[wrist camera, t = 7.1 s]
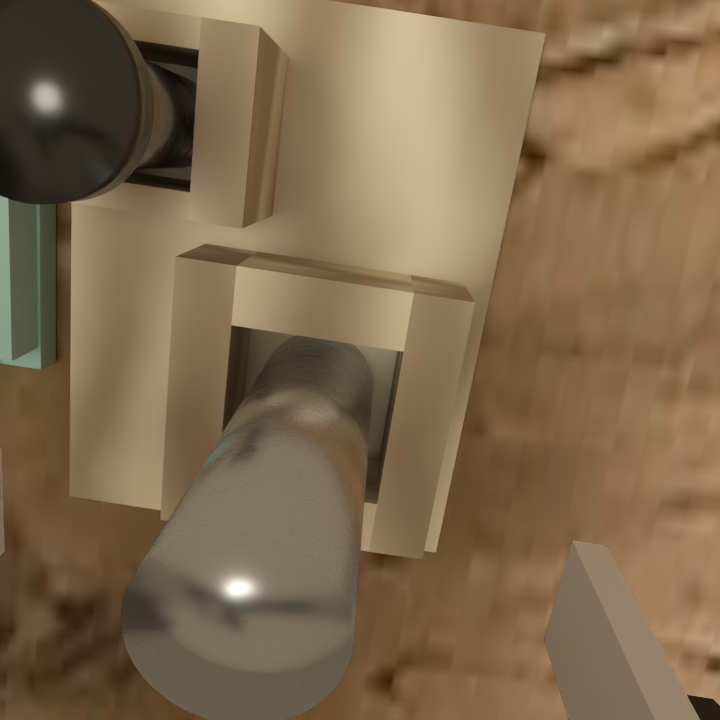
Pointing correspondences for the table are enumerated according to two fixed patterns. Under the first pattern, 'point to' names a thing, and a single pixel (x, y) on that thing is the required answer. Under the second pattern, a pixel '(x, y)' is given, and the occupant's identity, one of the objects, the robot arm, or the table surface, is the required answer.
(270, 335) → the socket block
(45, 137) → the black mushroom head peg
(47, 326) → the tray
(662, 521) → the table surface
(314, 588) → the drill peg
